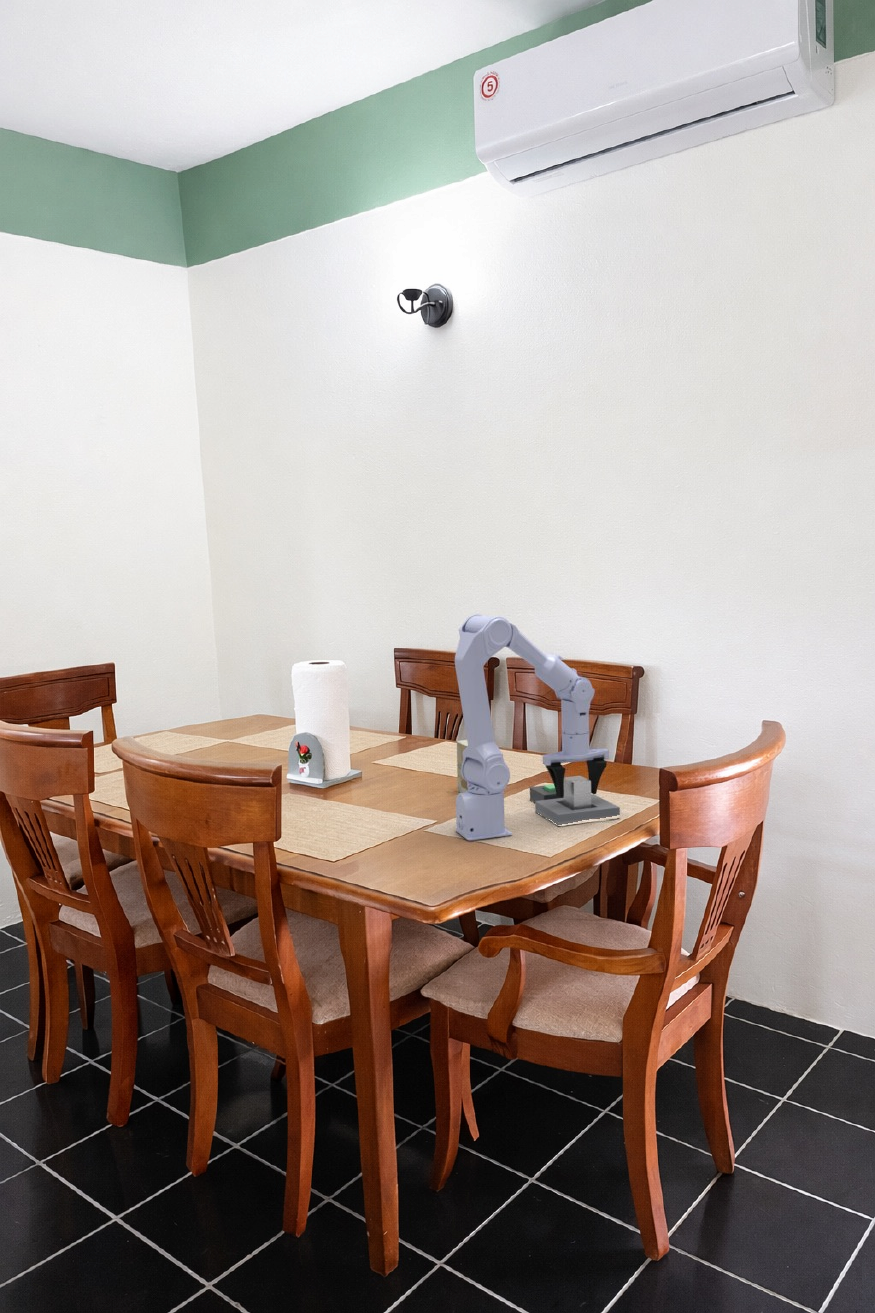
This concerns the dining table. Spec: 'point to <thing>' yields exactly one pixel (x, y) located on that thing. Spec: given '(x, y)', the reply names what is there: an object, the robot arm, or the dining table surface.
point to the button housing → (541, 794)
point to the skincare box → (461, 782)
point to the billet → (577, 793)
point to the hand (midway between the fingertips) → (576, 795)
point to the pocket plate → (564, 815)
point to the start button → (549, 788)
